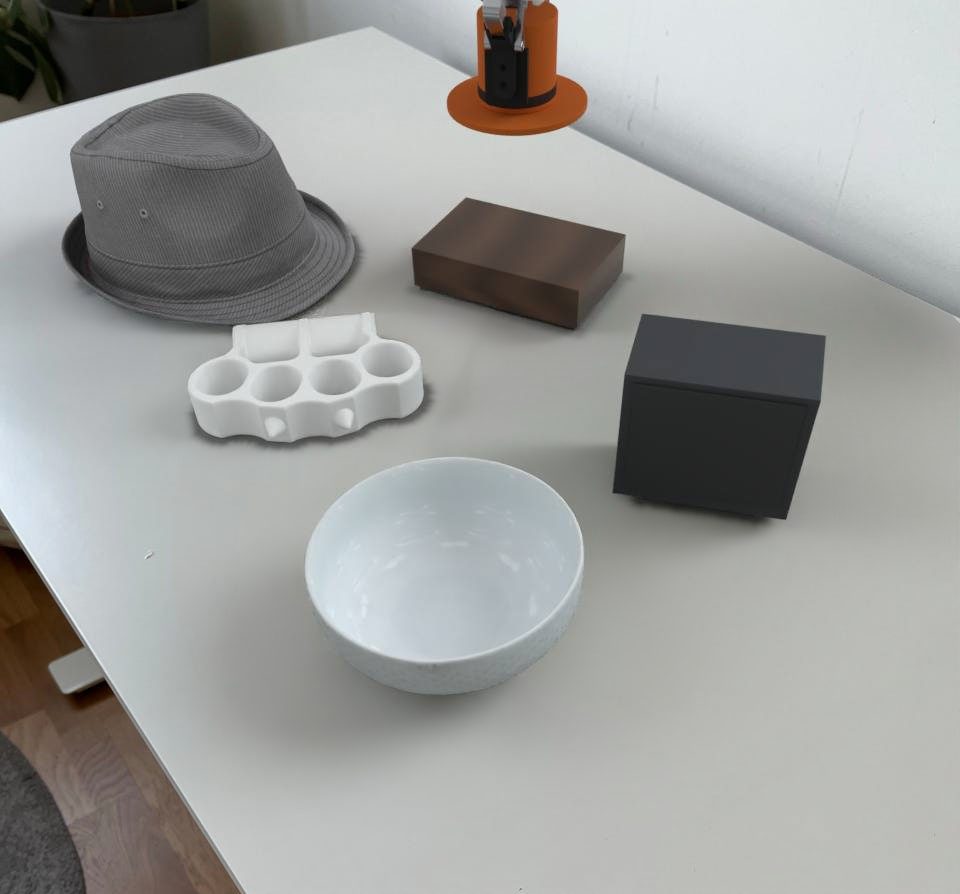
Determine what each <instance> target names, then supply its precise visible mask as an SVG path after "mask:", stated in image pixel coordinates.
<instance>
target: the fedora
mask: <svg viewBox="0 0 960 894" xmlns="http://www.w3.org/2000/svg"><path fill="white" fill-rule="evenodd" d="M69 158H70V165H71V170H72V176H73V181H74V186H75V191H76V193H77V198H78V201H79V206H80V212H78V213H77V214H76V215H75V216H74V217H73V219H72V220H71V221H70V223H69V224H68V226H67V227H66V229H65V231H64V233H63V235H62V239H61V246H60V247H61V254H62V258H63V260H64V262H65V264H66V265H67V267H68V268H69V269H70V271H71V272H72V273H73V275H74V276H75V277H77V279H79V280H80V281H81V282H82V283H83V284H84V285H85V286H86V287H88V288H89V289H90V290H92V292H93V293H95V294H96V295H98V296H99V297H101V298H103V299H104V300H105V301H108V302H109V303H112V304H114V305H117V306H118V307H121V308H123V309H125V310H129V311H131V312H134V313H139V314H143V315H147V316H150V317H153V318H159V319H164V320H170V321H177V322H184V323H190V324H197V325H198V324H200V325H208V326H209V325H210V326H223V327H225V326H226V327H234V326H236V325H253V324H263V323H272V322H281V321H284V320H286V319H288V318H290V317H293V316H295V315H297V314H299V313H302V312H304V311H305V310H307V309H309V308H310V307H312V306H313V305H315V304H316V303H317V302H318V301H320V300H321V299H323V298H324V297H326V296H327V295H328V294H329V293H330V292H331V291H332V290H333V289H334V288H336V287H337V286H338V284H339V283H340V282H341V281H342V280H343V279H344V278H345V277H346V275H347V274H348V273H349V271H350V269H351V268H352V266H353V263H354V260H355V259H354V258H355V255H356V253H355V252H356V251H355V250H356V247H355V242H354V238H353V235H352V234H351V231H350V229H349V227H348V225H346V223H345V222H344V220H343V218H342V217H341V216H340V215H339V213H337V211H335V210H334V208H332V207H331V206H330V205H329V204H327V203H326V202H324V201H323V200H321V199H320V198H319V197H317V196H315V195H312V194H310V193H308V192H306V191H303V190H301V189H299V188H297V185H296V183H295V181H294V179H293V178H292V177H291V174H290V173H289V172H288V169H287V167H286V165H285V163H284V161H283V159H282V156H281V154H280V152H279V151H278V148H277V147H276V144H275V142H274V141H273V139H272V138H271V137H270V135H269V134H268V133H267V132H266V131H265V130H263V129H262V128H261V126H259V125H258V124H257V123H256V122H255V121H254V120H253V119H252V118H251V117H250V116H249V115H247V114H246V113H245V112H244V110H242V109H241V108H240V107H238V106H237V105H235V104H233V102H230V101H228V100H226V99H224V98H223V97H220V96H217V95H213V94H210V93H204V92H203V93H201V92H184V93H176V94H172V95H167V96H162V97H158V98H154V99H152V100H149V101H146V102H141V103H139V104H138V103H137V104H135V105H133V106H130V107H127V108H125V109H124V110H121V111H119V112H117V113H115V114H113V115H111V116H109V117H108V118H106V119H105V120H104V121H102V122H101V123H100V124H98V125H95V126H94V127H93V128H91V129H90V130H88V131H87V132H85V133H84V134H83V135H81V138H79V139H78V140H77V141H76V142H75V143H74V144H73V146H72V147H71V149H70V153H69Z"/></svg>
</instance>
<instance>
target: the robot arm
mask: <svg viewBox="0 0 960 894" xmlns="http://www.w3.org/2000/svg"><path fill="white" fill-rule="evenodd" d="M480 1H481V2H482V5H483V7H482V16H483V19H484V26H485V28H484V30H485V32H484V60H485V101H486V103H487V105H489V106H498V107H509V108H520V109H523V108H525V107H526V105H527V103H528V84H529V48H526V47H524V44H525V32H526V20H527V8H528V1H532V4H533V5H534V6H539V5H541V4H542V3H543V2H544V1H547V2H550V0H480ZM506 9H514V10H517V11H516V24H515V27H514V22H513V20H512V17H509V16H506V13H507V11H506Z"/></svg>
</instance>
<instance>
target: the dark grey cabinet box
mask: <svg viewBox="0 0 960 894" xmlns="http://www.w3.org/2000/svg"><path fill="white" fill-rule="evenodd" d="M826 343H827V335H823V334H814V333H808V332H807V333H806V332H800V331H799V332H798V331H789V330H782V329H774V328H766V327H757V326H749V325H740V324H734V323H733V324H732V323H724V322H716V321H707V320H702V319H701V320H700V319H693V318H684V317H683V318H682V317H676V316H668V315H667V316H666V315H659V314H658V315H657V314H650V313H649V314H648V313H641V316H640V319H639V322H638V326H637V330H636V332H635V337H634V339H633V343H632V346H631V350H630V354H629V357H628V361H627V364H626V369H625V371H624V376H623V384H622V394H621V403H620V415H619V425H618V433H617V444H616V453H615V466H614V475H613V483H612V494H615V495H616V494H617V495H621V496H627V497H636V498H641V499H642V500H647V501H653V502H661V503H668V504H674V505H679V506H680V505H681V506H687V507H694V508H700V509H706V510H711V511H719V512H726V513H730V514H739V515H744V516H750V517H755V516H756V517H762V518H763V517H764V518H768V519H776V520H783V521H787V519H788V515H789V512H790V508H791V505H792V502H793V498H794V495H795V491H796V488H797V484H798V481H799V479H800V474H801V470H802V467H803V464H804V460H805V457H806V454H807V451H808V450H807V449H808V446H809V443H810V440H811V437H812V432H813V429H814V426H815V424H816V423H815V422H816V419H817V415H818V412H819V409H820V405H821V402H822V391H823V380H824V366H825V355H826Z"/></svg>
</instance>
